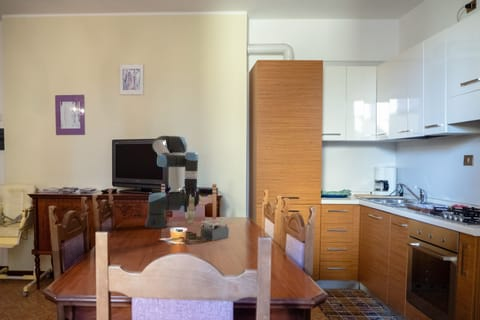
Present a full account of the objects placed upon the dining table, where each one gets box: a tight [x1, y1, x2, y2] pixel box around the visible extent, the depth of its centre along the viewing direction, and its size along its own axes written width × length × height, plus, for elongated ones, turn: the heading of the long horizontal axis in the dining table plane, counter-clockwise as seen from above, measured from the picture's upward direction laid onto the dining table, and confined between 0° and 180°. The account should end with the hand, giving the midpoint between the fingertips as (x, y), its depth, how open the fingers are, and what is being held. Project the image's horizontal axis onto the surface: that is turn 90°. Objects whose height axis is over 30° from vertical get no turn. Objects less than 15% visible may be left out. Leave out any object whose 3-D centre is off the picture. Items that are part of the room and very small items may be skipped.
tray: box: [182, 235, 207, 245], centre depth 177 cm, size 10×10×2 cm
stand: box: [185, 230, 197, 237], centre depth 187 cm, size 8×8×3 cm
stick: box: [185, 196, 195, 226], centre depth 187 cm, size 3×3×16 cm
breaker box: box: [199, 218, 230, 242], centre depth 188 cm, size 12×12×10 cm
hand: (189, 217), depth 187 cm, fingers closed on stick, 3 cm apart
